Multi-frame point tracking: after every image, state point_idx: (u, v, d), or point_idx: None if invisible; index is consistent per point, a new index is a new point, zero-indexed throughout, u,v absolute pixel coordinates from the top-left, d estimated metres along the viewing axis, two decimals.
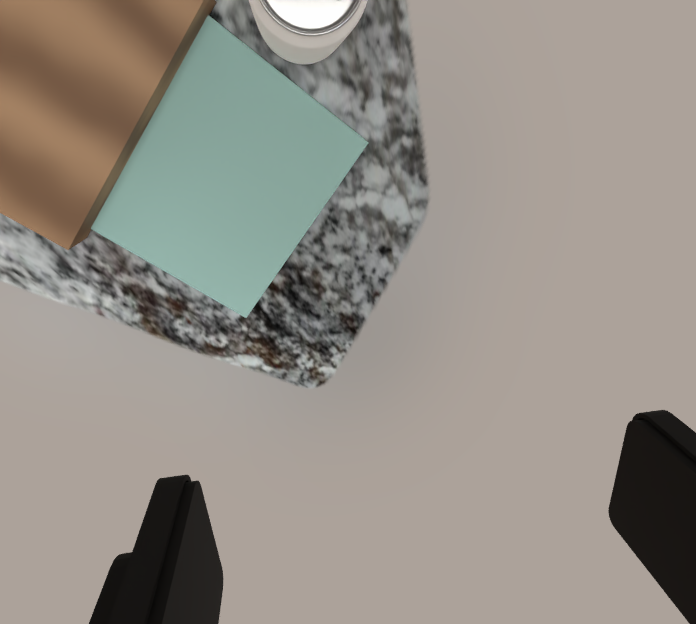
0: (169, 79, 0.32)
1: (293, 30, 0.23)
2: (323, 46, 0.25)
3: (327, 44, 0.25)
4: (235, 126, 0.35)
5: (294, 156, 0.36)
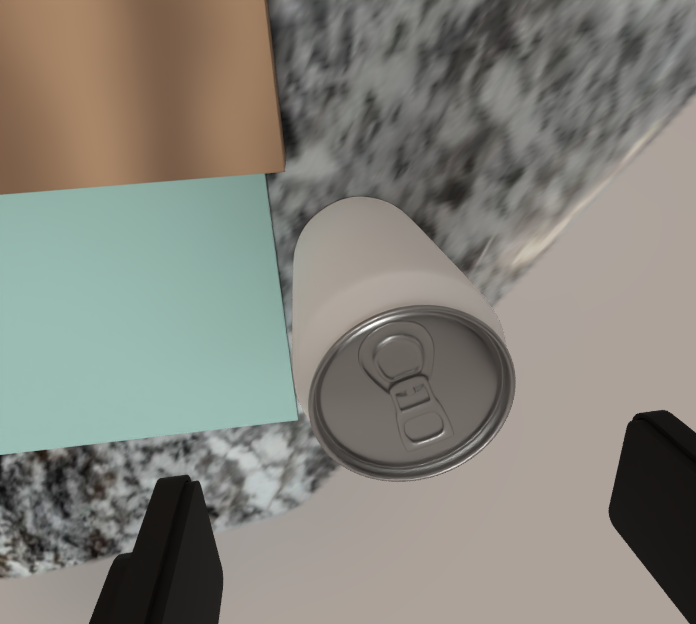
0: None
1: (319, 438, 0.13)
2: None
3: None
4: (172, 283, 0.22)
5: (208, 365, 0.24)
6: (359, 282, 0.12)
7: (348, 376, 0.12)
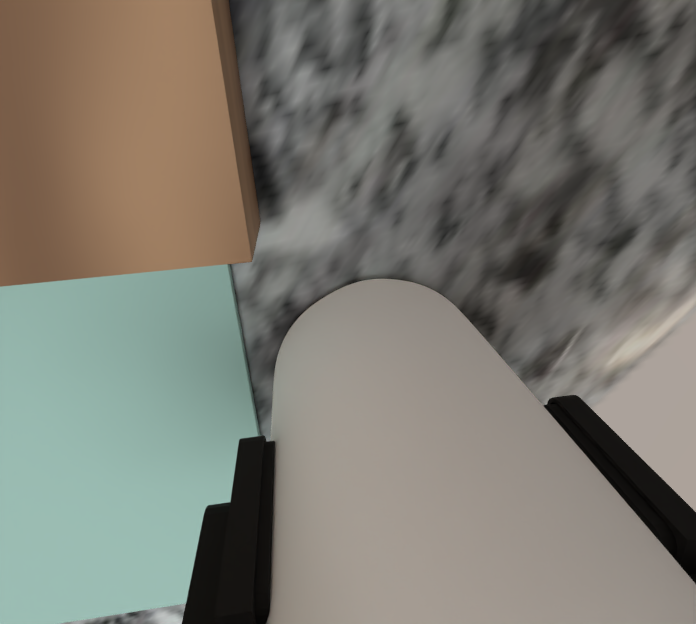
0: None
1: None
2: None
3: None
4: (80, 415, 0.14)
5: (146, 525, 0.16)
6: None
7: None
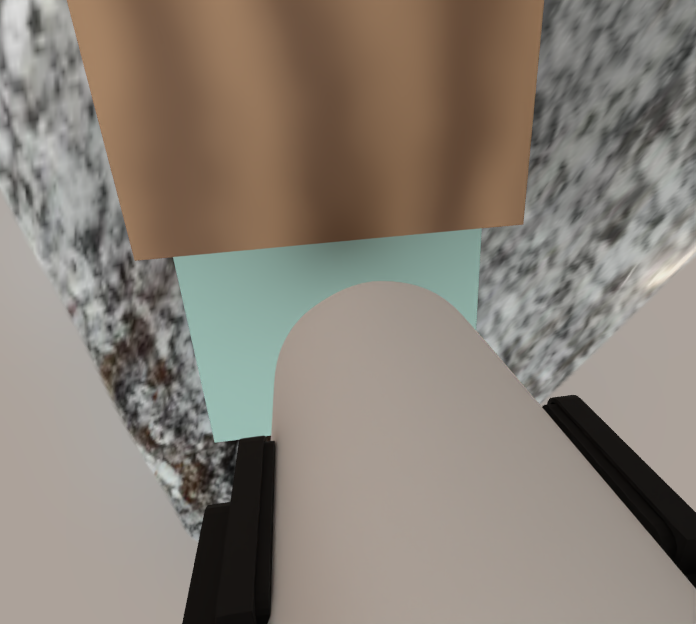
0: None
1: None
2: None
3: None
4: None
5: None
6: None
7: None
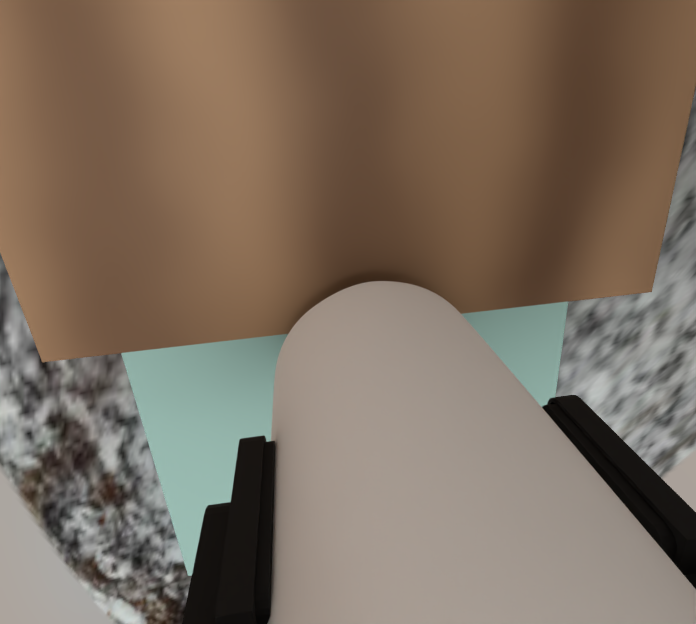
0: None
1: None
2: None
3: None
4: None
5: None
6: None
7: None
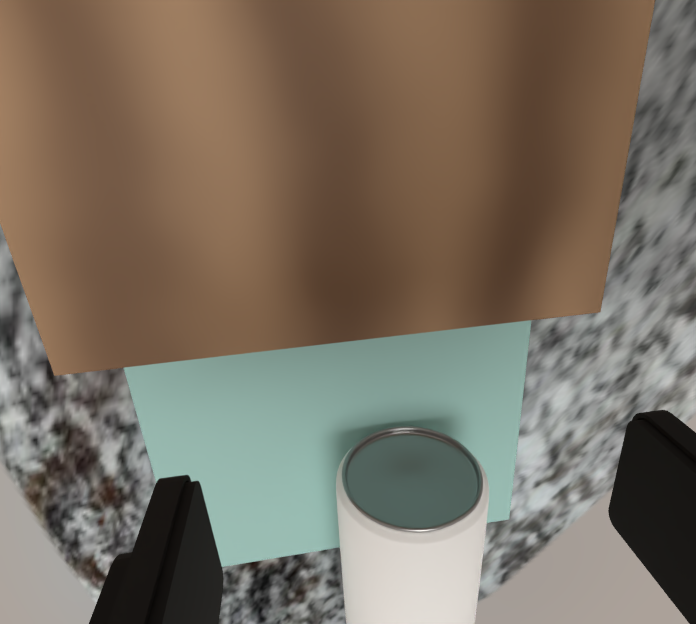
0: None
1: None
2: None
3: None
4: (424, 398, 0.22)
5: None
6: None
7: None
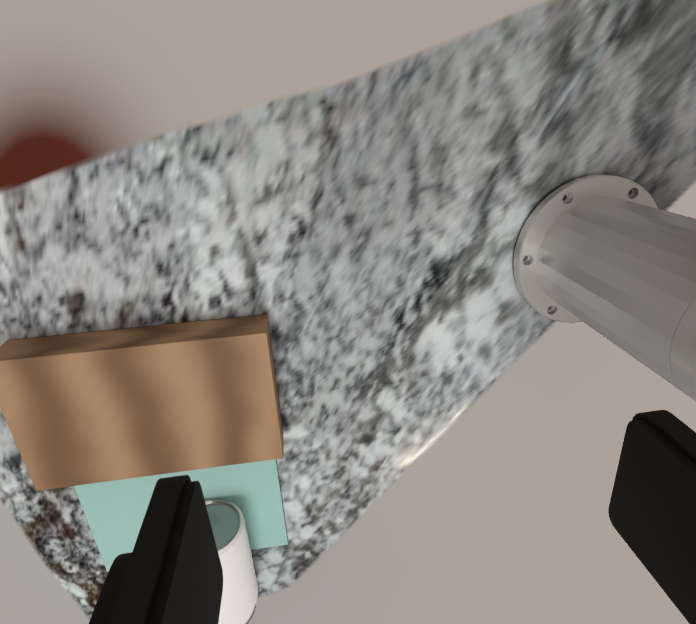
0: None
1: None
2: None
3: None
4: (225, 486, 0.44)
5: None
6: None
7: None
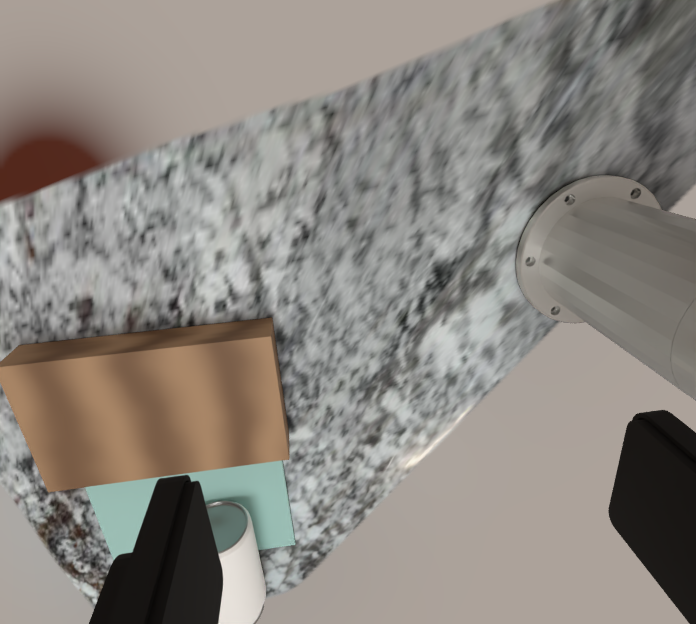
0: None
1: None
2: None
3: None
4: (232, 487, 0.45)
5: None
6: None
7: None
